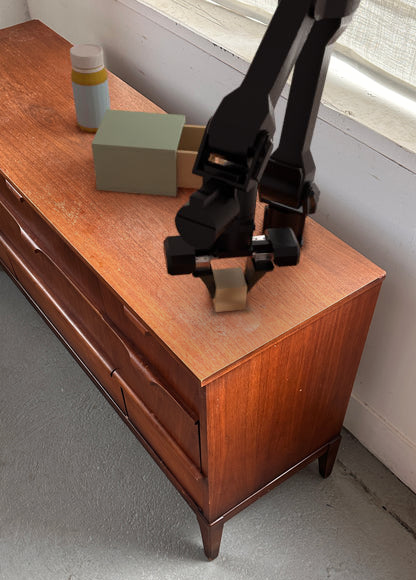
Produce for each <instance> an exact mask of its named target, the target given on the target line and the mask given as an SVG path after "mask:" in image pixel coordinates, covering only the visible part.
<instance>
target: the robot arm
mask: <svg viewBox="0 0 416 580" xmlns="http://www.w3.org/2000/svg"><path fill="white" fill-rule="evenodd" d="M361 1H362V0H277V6H276V8H275V10H274V12H273V14H272V16H271V18H270V20H269V23H268V25H267V28H266V30H265V31H264V34H263V36H262V38H261V41H260V43H259V44H258V47H257V48H256V51H255V53H254V56H253V58H252V61H251V62H250V64H249V67H248V68H247V71H246V72H245V75H244V76H243V77H244V78H243V79H242V81H241V83H240V84H239V86H238V87H236V88H235V89H233V90H231V91H230V92H229V93H227V94H226V95H224V96H223V97H222V99H221V100H220V103H219V104H218V106H217V108H216V110H215V111H214V113H213V115H211V116H210V117H209V119H208V121H207V123H206V125H205V126H206V128H205V131H204V134H203V138H202V141H201V144H200V147H199V150H198V153H197V157H196V160H195V163H194V166H193V169H192V174H194V175H197V176H200V177H203V178H202V187H201V188H200V189H198V188H197V189H196V190H194V192H192V193H191V194H190V195H189V197H188V200H187V201H186V202H184V204H183V205H182V206H181V207H180V208H179V209H178V210H177V211H176V214H175V216H174V225H175V228H176V231H177V233H178V234H177V235H167V236H166V237H165V239H164V240H163V241H162V248H163V249H162V250H163V255H164V262H165V267H166V274H167V275H169V276H171V277H175V276H176V277H177V276H187V275H191V276H192V277H193V278H194V279H197V278H198V279H200V280H201V281H202V283H203V284H204V285H205V287H206V289H207V292H208V294H209V296H210V298H211V300H213V299H214V296H215V287H214V275H213V270H212V269H213V267H212V262H211V261H215V260H226V259H227V260H228V259H238V258H239V259H241V258H246V260H245V266H244V271H243V274H244V278H245V281H246V284H247V295H248V294H249V293H250V292H251V290H252V289H253V288H254V287H255V286H256V284H258V282H259V281H260V280H261V279H262V278H263V277H264V276H265V275H266V274H267V273H271V272H274V270H275V266H276V267H278V268H284V267H285V268H286V267H296V266H298V265H299V264H300V259H301V255H302V254H301V253H302V252H301V248H302V247H303V246H304V233H305V226H306V219H307V217H308V216H309V215H315V214H316V213H317V209H318V204H319V201H320V195H321V190H320V189H319V187H318V186H317V184H316V183H315V176H316V171H317V167H316V163H315V160H314V157H313V154H312V152H311V147H312V146H311V145H312V140H313V137H314V131H315V128H316V123H317V119H318V115H319V111H320V106H321V101H322V97H323V93H324V89H325V84H326V79H327V75H328V71H329V67H330V63H331V58H332V53H333V49H334V45H335V43H336V42H337V41H338V39H339V38H340V37H341V36H342V35H343V34H344V32H346V30H347V29H348V28H349V27H350V26H351V24H352V21H353V17H354V15H355V13H356V12H357V10H358V8H359V7H360V3H361ZM292 71H293V72H292ZM291 73H292V75H291ZM290 76H292V77H291V82H290V85H289V92H288V96H287V101H286V107H285V111H284V116H283V121H282V127H281V130H280V131H281V132H280V137H279V141H278V145H277V147H276V149H275V150H274V136H275V133H276V130H277V124H276V118H275V117H276V116H275V109H276V106H277V105H278V101H279V100H280V99H279V98H280V97H281V95H282V92H283V90H284V88H285V86H286V84H287V82H288V80H289V78H290ZM273 150H274V151H273ZM210 155H212V156H214V157H215V158H217V159H218V158H220V159H223V160H226V161H225V162H224V163H223V164H222V165H221V164H218V162H216V161H215V162H212V161H208V159H209V157H210ZM257 200H258V202H259V203H260V204H265V205H264V208H263V209H264V210H263V217H262V226H261V227H262V229H261V234H262V235H254V232H256V228H257V227H256V226H257V225H256V221H255V219H256V212H257V211H256V209H257Z"/></svg>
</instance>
